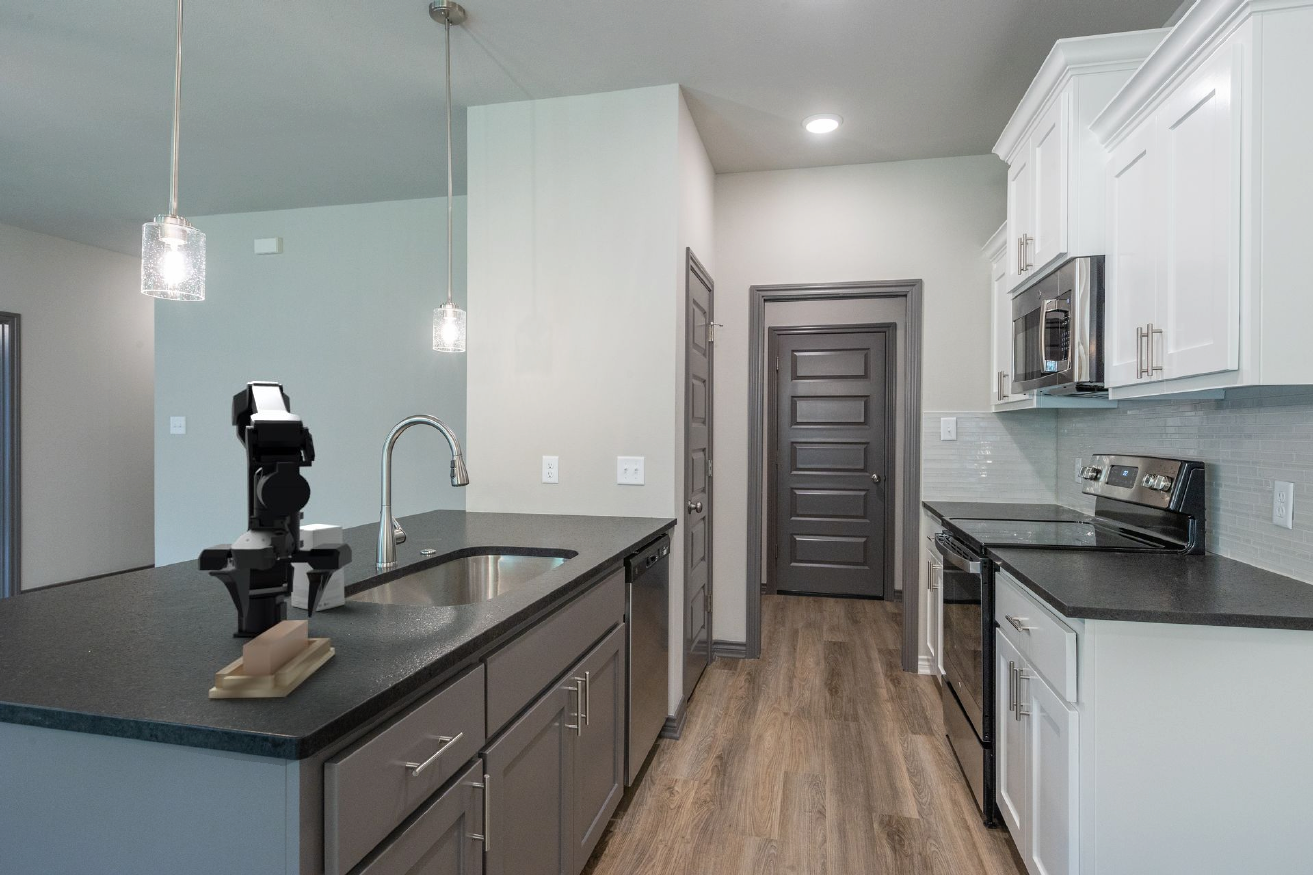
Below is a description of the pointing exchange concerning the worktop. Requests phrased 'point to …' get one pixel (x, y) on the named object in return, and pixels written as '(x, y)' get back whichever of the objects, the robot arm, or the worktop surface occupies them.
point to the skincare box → (335, 586)
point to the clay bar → (275, 648)
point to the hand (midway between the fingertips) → (277, 617)
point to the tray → (277, 685)
